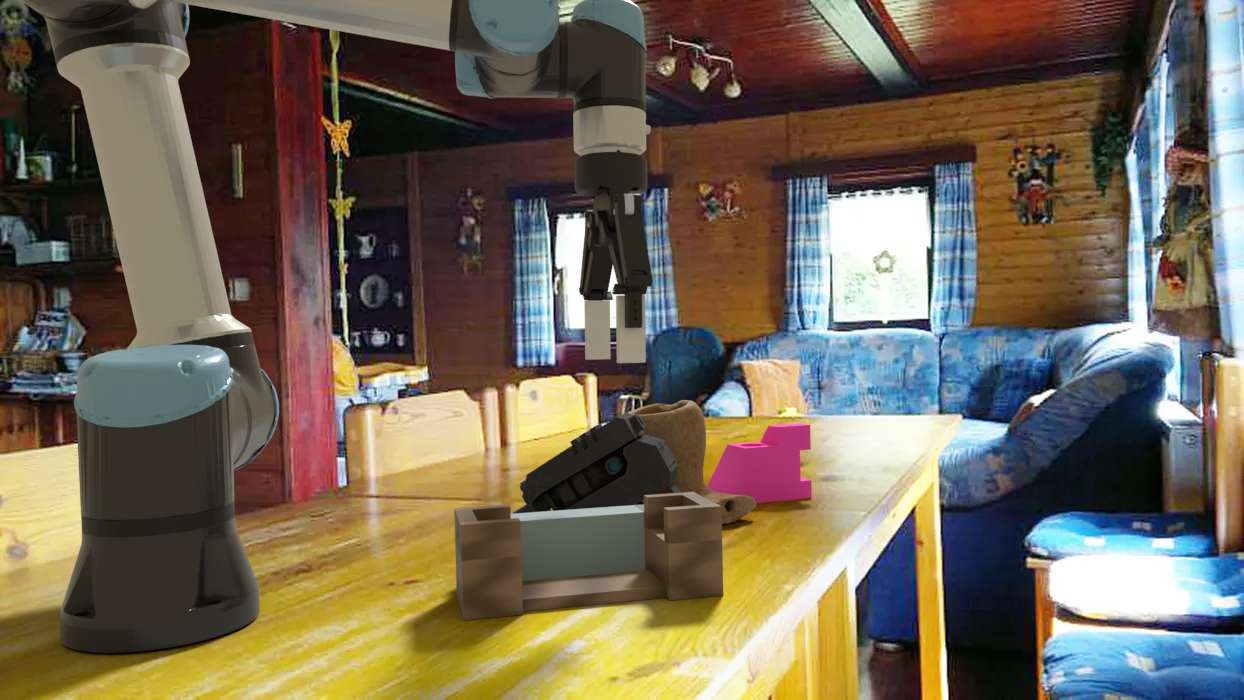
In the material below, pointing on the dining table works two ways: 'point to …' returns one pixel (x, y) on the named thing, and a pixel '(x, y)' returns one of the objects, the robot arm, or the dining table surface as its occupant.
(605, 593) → the posts
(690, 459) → the brown boot
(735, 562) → the dining table surface
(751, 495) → the bracket
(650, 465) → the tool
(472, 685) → the dining table surface
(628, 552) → the rail
